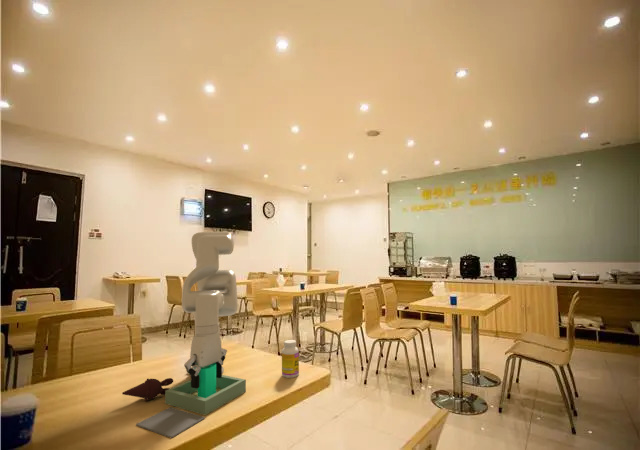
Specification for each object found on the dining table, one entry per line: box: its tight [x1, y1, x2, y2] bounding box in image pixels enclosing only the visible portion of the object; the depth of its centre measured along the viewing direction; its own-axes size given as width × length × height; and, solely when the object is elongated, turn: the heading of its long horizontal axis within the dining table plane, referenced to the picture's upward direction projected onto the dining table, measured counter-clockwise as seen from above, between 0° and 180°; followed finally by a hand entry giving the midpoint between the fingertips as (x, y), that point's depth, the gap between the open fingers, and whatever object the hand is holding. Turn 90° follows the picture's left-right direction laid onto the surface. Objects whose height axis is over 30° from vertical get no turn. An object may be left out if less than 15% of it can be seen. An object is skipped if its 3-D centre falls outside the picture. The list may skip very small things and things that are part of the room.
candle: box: [196, 363, 217, 398], centre depth 109 cm, size 6×6×12 cm
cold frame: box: [164, 374, 247, 416], centre depth 108 cm, size 18×18×4 cm
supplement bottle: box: [281, 339, 300, 379], centre depth 126 cm, size 7×7×13 cm
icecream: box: [122, 377, 174, 402], centre depth 108 cm, size 7×7×15 cm
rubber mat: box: [135, 406, 206, 439], centre depth 93 cm, size 15×11×1 cm
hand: (206, 382), depth 108 cm, fingers open, 9 cm apart
